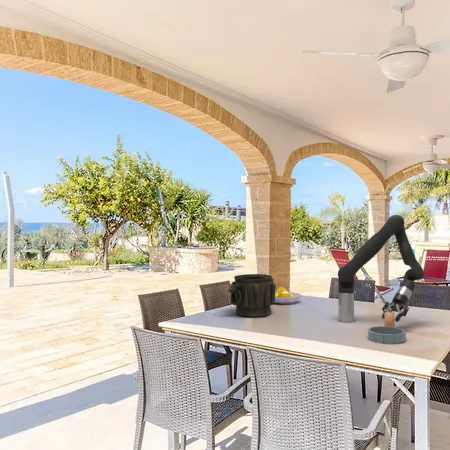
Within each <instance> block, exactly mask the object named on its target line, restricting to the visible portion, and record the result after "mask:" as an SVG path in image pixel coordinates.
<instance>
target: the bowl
mask: <svg viewBox="0 0 450 450" xmlns="http://www.w3.org/2000/svg"><path fill="white" fill-rule="evenodd" d="M367 339H368V340H369V339H370V340H369V341H371V340H372V341H371V342H373V341H375V342H374V343H377V342H379V343H378V344H384V343H399V344H403V343H405V342H406V341H407V340H406V339H407V332H406V331H405V329H403V328H399V327H396V326H395V327H389V326H385V325H377V326H370V327H368V328H367Z"/></svg>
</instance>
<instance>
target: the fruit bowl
mask: <svg viewBox="0 0 450 450" xmlns="http://www.w3.org/2000/svg"><path fill="white" fill-rule="evenodd" d="M301 297H302V294H300V293H299V292H293V291H288V289H287V288H285V287H284V286H279V287H278V288H277V289H276V290H275V301H274V303H273V304H279V305H288V304H294V303H296V302H298V301H299V300H300V298H301Z"/></svg>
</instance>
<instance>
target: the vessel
mask: <svg viewBox="0 0 450 450" xmlns="http://www.w3.org/2000/svg"><path fill="white" fill-rule="evenodd" d="M233 279H234V280H233V281H232V282H231V284H230V287H229V288H228V290H227V291H228V292H229V293H230V304H232V305H233V306H235V314H236V315H240V316H243V317H265V316H266V317H267V316H270V315H271V314H272V309H271V306H273V304H275V303H274V301H275V292H276V290H277V289H276V287H277V286H276V284H275V282H274V278H273V276H272V275H270V274H265V273H264V274H263V273H246V274H238V275H234V276H233Z"/></svg>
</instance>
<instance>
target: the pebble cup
mask: <svg viewBox="0 0 450 450" xmlns="http://www.w3.org/2000/svg"><path fill="white" fill-rule="evenodd" d="M383 313H384V316H385V319H384V326H389V327H396V326H395V322H396V321H395V318H396V317H395V312H394V311H392V312H383Z"/></svg>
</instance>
